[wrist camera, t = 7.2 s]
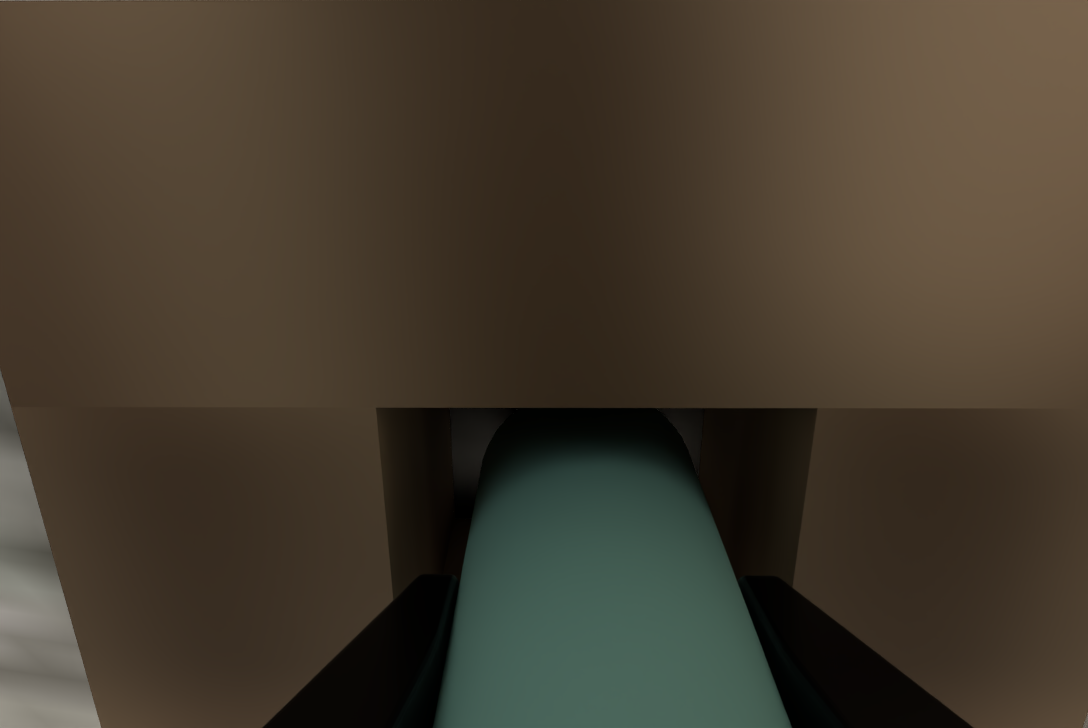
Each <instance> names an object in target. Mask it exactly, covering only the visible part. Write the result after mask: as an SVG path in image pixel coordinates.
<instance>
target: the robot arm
mask: <svg viewBox="0 0 1088 728" xmlns="http://www.w3.org/2000/svg"><path fill="white" fill-rule="evenodd" d="M737 582H738V585H739V588H740V590H741V593H742V596H743V598H744V601H745V604H746V606H747V609H748V612H749V614H750V617H751V620H752V622H753V625H754V628H755V630H756V633H757V636H758V638H759V641H760V644H761V646H762V649H763V652H764V654H765V657H766V660H767V662H768V665H769V668H770V670H771V673H772V675H773V678H774V681H775V683H776V686H777V689H778V691H779V694H780V697H781V699H782V702H783V705H784V707H785V710H786V713H787V715H788V718H789V721H790V723H791V726H792V728H974V727H973V726H971V725H970V724H969V723H967V722H966V721H965V720H964V719H962V718H961V717H960V716H958V715H957V714H956V713H954V712H953V711H952V710H951V709H949V708H948V707H947V706H945V705H944V704H943V703H942V702H940V701H939V700H938V699H936V698H935V697H934V696H932V695H931V694H930V693H929V692H927V691H926V690H925V689H923V688H922V687H921V686H920V685H918V684H917V683H916V682H914V681H913V680H912V679H910V678H909V677H908V676H907V675H905V674H904V673H903V672H901V671H900V670H899V669H898V668H896V667H895V666H894V665H892V664H891V663H890V662H888V661H887V660H886V659H885V658H883V657H882V656H881V655H879V654H878V653H877V652H876V651H874V650H873V649H872V648H870V647H869V646H868V645H866V644H865V643H864V642H863V641H861V640H860V639H859V638H857V637H856V636H855V635H854V634H852V633H851V632H850V631H848V630H847V629H846V628H844V627H843V626H842V625H841V624H839V623H838V622H837V621H835V620H834V619H833V618H832V617H830V616H829V615H828V614H826V613H825V612H824V611H823V610H821V609H820V608H819V607H817V606H816V605H815V604H813V603H812V602H811V601H810V600H808V599H807V598H806V597H804V596H803V595H802V594H801V593H799V592H798V591H797V590H795V589H794V588H793V587H791V586H790V585H789V584H788V583H786V582H785V581H784V580H782V579H781V578H779V577H777V576H773V575H744V576H742V577H740V578H739V579H738V581H737ZM458 589H459V583H458V579H457V578H456V576H455V575H452V574H422V575H420V576H418V577H416V578H415V579H414V580H413V581H412V582H411V583H410V584H409V585H408V586H407V587H406V588H405V589H404V590H403V591H402V592H401V593H400V594H399V595H398V596H397V597H396V598H395V599H394V600H393V601H392V602H391V603H390V604H389V605H388V606H386V607H385V608H384V609H383V610H382V611H381V612H380V613H379V614H378V615H377V616H376V617H375V618H374V619H373V620H372V621H371V622H370V623H369V624H368V625H367V626H366V627H365V628H364V629H363V630H362V631H361V632H360V633H359V634H358V635H357V636H356V637H355V638H354V639H353V640H352V641H351V642H350V643H348V644H347V645H346V646H345V647H344V648H343V649H342V650H341V651H340V652H339V653H338V654H337V655H336V656H335V657H334V658H333V659H332V660H331V661H330V662H329V663H328V664H327V665H326V666H325V667H324V668H323V669H322V670H321V671H320V672H319V673H318V674H317V675H316V676H315V677H314V678H313V679H311V680H310V681H309V682H308V683H307V684H306V685H305V686H304V687H303V688H302V689H301V690H300V691H299V692H298V693H297V694H296V695H295V696H294V697H293V698H292V699H291V700H290V701H289V702H288V703H287V704H286V705H285V706H284V707H283V708H282V709H281V710H280V711H279V712H278V713H277V714H276V715H275V716H273V717H272V718H271V719H270V720H269V721H268V722H267V723H266V724H265V725H264V726H263V727H262V728H433V723H434V718H435V713H436V707H437V702H438V696H439V691H440V686H441V680H442V675H443V670H444V664H445V659H446V654H447V648H448V643H449V638H450V632H451V627H452V622H453V616H454V611H455V605H456V600H457V595H458Z"/></svg>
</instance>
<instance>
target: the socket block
mask: <svg viewBox="0 0 1088 728" xmlns="http://www.w3.org/2000/svg"><path fill="white" fill-rule="evenodd" d="M0 369H1V372H2V376H3V380H4V383H5V387H6V390H7V394H8V397H9V401H10V404H11V408H12V412H13V415H14V419H15V422H16V426H17V429H18V433H19V436H20V440H21V444H22V447H23V451H24V454H25V458H26V461H27V465H28V468H29V472H30V476H31V479H32V483H33V486H34V490H35V493H36V497H37V500H38V504H39V508H40V511H41V515H42V518H43V522H44V525H45V529H46V532H47V536H48V540H49V543H50V547H51V550H52V554H53V557H54V561H55V564H56V568H57V572H58V575H59V579H60V582H61V586H62V589H63V593H64V596H65V600H66V604H67V607H68V611H69V614H70V618H71V621H72V625H73V628H74V632H75V636H76V639H77V643H78V646H79V650H80V653H81V657H82V660H83V664H84V668H85V671H86V675H87V678H88V682H89V685H90V689H91V692H92V696H93V700H94V703H95V707H96V710H97V714H98V717H99V721H100V724H101V728H262V727H263V726H264V725H265V724H266V723H267V722H268V721H269V720H270V719H271V718H272V717H273V716H275V715H276V714H277V713H278V712H279V711H280V710H281V709H282V708H283V707H284V706H285V705H286V704H287V703H288V702H289V701H290V700H291V699H292V698H293V697H294V696H295V695H296V694H297V693H298V692H299V691H300V690H301V689H302V688H303V687H304V686H305V685H306V684H307V683H308V682H309V681H310V680H311V679H313V678H314V677H315V676H316V675H317V674H318V673H319V672H320V671H321V670H322V669H323V668H324V667H325V666H326V665H327V664H328V663H329V662H330V661H331V660H332V659H333V658H334V657H335V656H336V655H337V654H338V653H339V652H340V651H341V650H342V649H343V648H344V647H345V646H346V645H347V644H348V643H350V642H351V641H352V640H353V639H354V638H355V637H356V636H357V635H358V634H359V633H360V632H361V631H362V630H363V629H364V628H365V627H366V626H367V625H368V624H369V623H370V622H371V621H372V620H373V619H374V618H375V617H376V616H377V615H378V614H379V613H380V612H381V611H382V610H383V609H384V608H385V607H386V606H388V605H389V604H390V603H391V602H392V601H393V600H394V599H395V598H396V597H397V596H398V595H399V594H400V593H401V592H402V591H403V590H404V589H405V588H406V587H407V586H408V585H409V584H410V583H411V582H412V581H413V580H414V579H415V578H416V577H418V576H420V575H422V574H452V575H455V576H456V578H457V579H458V583H459V584H460V579H461V573H462V568H463V563H464V557H465V552H466V547H467V541H468V536H469V530H470V525H471V520H472V519H455V505H454V486H453V467H452V447H451V428H450V409H449V408H705V410H704V423H703V435H702V447H701V459H700V472H699V481H700V484H701V487H702V489H703V492H704V495H705V497H706V500H707V503H708V505H709V508H710V511H711V513H712V516H713V519H714V521H715V524H716V526H717V529H718V532H719V534H720V537H721V540H722V542H723V545H724V548H725V550H726V553H727V556H728V558H729V561H730V564H731V566H732V569H733V572H734V574H735V577H736V580H737V581H738V579H739V578H740V577H742V576H744V575H773V576H777V577H779V578H781V579H782V580H784V581H785V582H786V583H788V584H789V585H790V586H791V587H793V588H794V589H795V590H797V591H798V592H799V593H801V594H802V595H803V596H804V597H806V598H807V599H808V600H810V601H811V602H812V603H813V604H815V605H816V606H817V607H819V608H820V609H821V610H823V611H824V612H825V613H826V614H828V615H829V616H830V617H832V618H833V619H834V620H835V621H837V622H838V623H839V624H841V625H842V626H843V627H844V628H846V629H847V630H848V631H850V632H851V633H852V634H854V635H855V636H856V637H857V638H859V639H860V640H861V641H863V642H864V643H865V644H866V645H868V646H869V647H870V648H872V649H873V650H874V651H876V652H877V653H878V654H879V655H881V656H882V657H883V658H885V659H886V660H887V661H888V662H890V663H891V664H892V665H894V666H895V667H896V668H898V669H899V670H900V671H901V672H903V673H904V674H905V675H907V676H908V677H909V678H910V679H912V680H913V681H914V682H916V683H917V684H918V685H920V686H921V687H922V688H923V689H925V690H926V691H927V692H929V693H930V694H931V695H932V696H934V697H935V698H936V699H938V700H939V701H940V702H942V703H943V704H944V705H945V706H947V707H948V708H949V709H951V710H952V711H953V712H954V713H956V714H957V715H958V716H960V717H961V718H962V719H964V720H965V721H966V722H967V723H969V724H970V725H971V726H973V727H974V728H1082V727H1083V724H1084V721H1085V718H1086V715H1087V713H1088V0H190V1H0Z"/></svg>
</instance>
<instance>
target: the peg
mask: <svg viewBox="0 0 1088 728" xmlns="http://www.w3.org/2000/svg"><path fill="white" fill-rule="evenodd" d="M433 728H792V726H791V723H790V721H789V718H788V715H787V713H786V710H785V707H784V705H783V702H782V699H781V697H780V694H779V691H778V689H777V686H776V683H775V681H774V678H773V675H772V673H771V670H770V668H769V665H768V662H767V660H766V657H765V654H764V652H763V649H762V646H761V644H760V641H759V638H758V636H757V633H756V630H755V628H754V625H753V622H752V620H751V617H750V614H749V612H748V609H747V606H746V604H745V601H744V598H743V596H742V593H741V590H740V588H739V585H738V582H737V580H736V577H735V574H734V572H733V569H732V566H731V564H730V561H729V558H728V556H727V553H726V550H725V548H724V545H723V542H722V540H721V537H720V534H719V532H718V529H717V526H716V524H715V521H714V519H713V516H712V513H711V511H710V508H709V505H708V503H707V500H706V497H705V495H704V492H703V489H702V487H701V484H700V481H699V479H698V476H697V473H696V471H695V468H694V465H693V463H692V460H691V457H690V455H689V452H688V449H687V447H686V445H685V443H684V441H683V439H682V437H681V435H680V434H679V432H678V431H677V429H676V428H675V426H674V425H673V424H672V423H671V422H670V421H669V420H668V419H667V418H666V417H665V416H664V415H663V414H662V413H661V412H660V411H658V410H657V409H656V408H519V409H518V410H517V411H516V412H514V413H513V414H512V415H511V416H509V418H508V419H507V420H506V421H505V422H504V423H503V424H502V425H501V426H500V427H499V429H498V430H497V432H496V433H495V434H494V436H493V437H492V439H491V441H490V443H489V445H488V447H487V449H486V452H485V455H484V458H483V461H482V466H481V472H480V477H479V482H478V488H477V493H476V498H475V504H474V509H473V514H472V520H471V525H470V530H469V536H468V541H467V547H466V552H465V557H464V563H463V568H462V573H461V579H460V584H459V589H458V595H457V600H456V605H455V611H454V616H453V622H452V627H451V632H450V638H449V643H448V648H447V654H446V659H445V664H444V670H443V675H442V680H441V686H440V691H439V696H438V702H437V707H436V713H435V718H434V723H433Z"/></svg>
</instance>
